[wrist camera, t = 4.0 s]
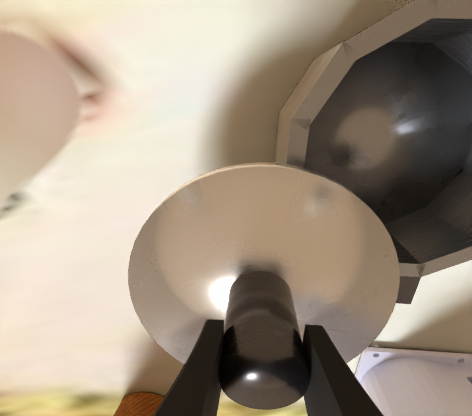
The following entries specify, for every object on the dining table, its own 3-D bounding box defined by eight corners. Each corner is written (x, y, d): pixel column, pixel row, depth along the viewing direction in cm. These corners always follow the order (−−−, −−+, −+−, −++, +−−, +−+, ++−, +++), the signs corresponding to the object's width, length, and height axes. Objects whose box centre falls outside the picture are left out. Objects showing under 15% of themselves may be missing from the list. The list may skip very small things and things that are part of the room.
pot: (543, -21, 13) (712, -88, 8) (433, 259, 19) (491, 311, 14) (291, -25, 13) (313, -91, 8) (266, 249, 19) (271, 297, 15)
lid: (420, 172, 11) (562, 232, 6) (347, 369, 16) (394, 495, 11) (133, 145, 12) (37, 182, 6) (147, 348, 16) (99, 462, 11)
